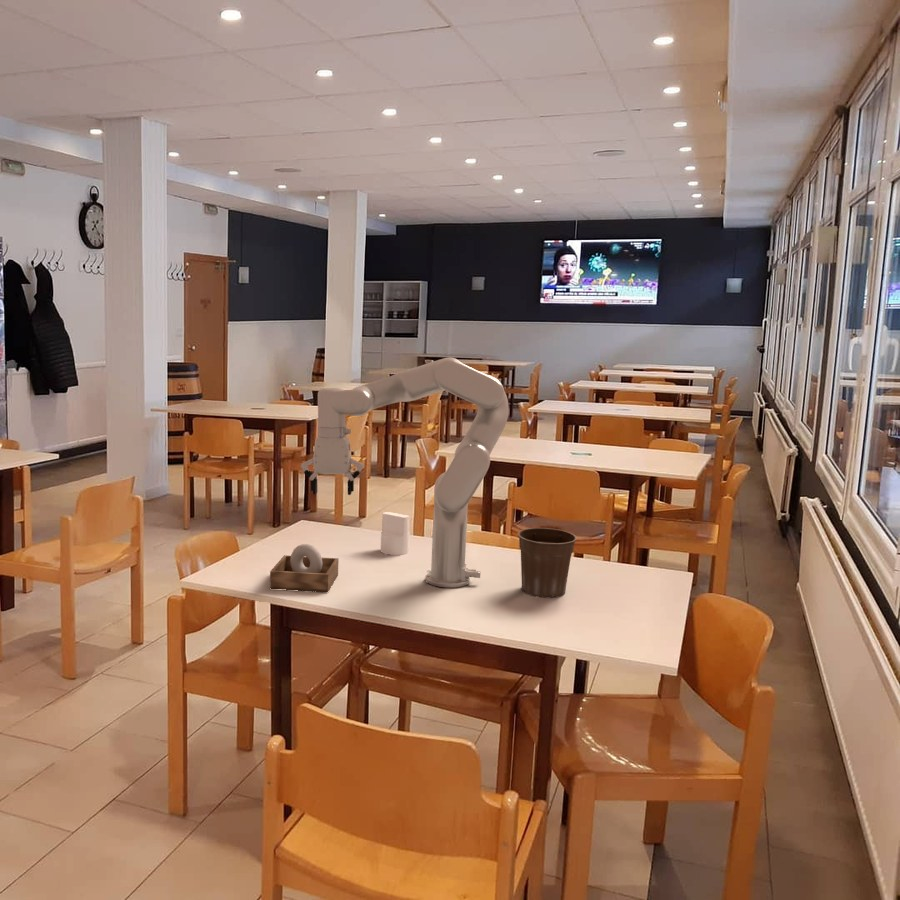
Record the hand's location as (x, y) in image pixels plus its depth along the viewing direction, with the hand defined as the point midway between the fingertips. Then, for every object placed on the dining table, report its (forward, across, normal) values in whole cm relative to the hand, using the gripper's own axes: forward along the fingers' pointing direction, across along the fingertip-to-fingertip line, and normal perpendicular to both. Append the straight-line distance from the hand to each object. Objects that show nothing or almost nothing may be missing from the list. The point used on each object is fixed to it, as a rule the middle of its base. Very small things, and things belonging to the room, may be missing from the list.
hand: (332, 493), depth 231 cm
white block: (+25, -15, -29) cm, 41 cm away
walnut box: (+24, +7, +6) cm, 25 cm away
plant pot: (+26, -59, +4) cm, 65 cm away
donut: (+23, +7, +6) cm, 25 cm away
